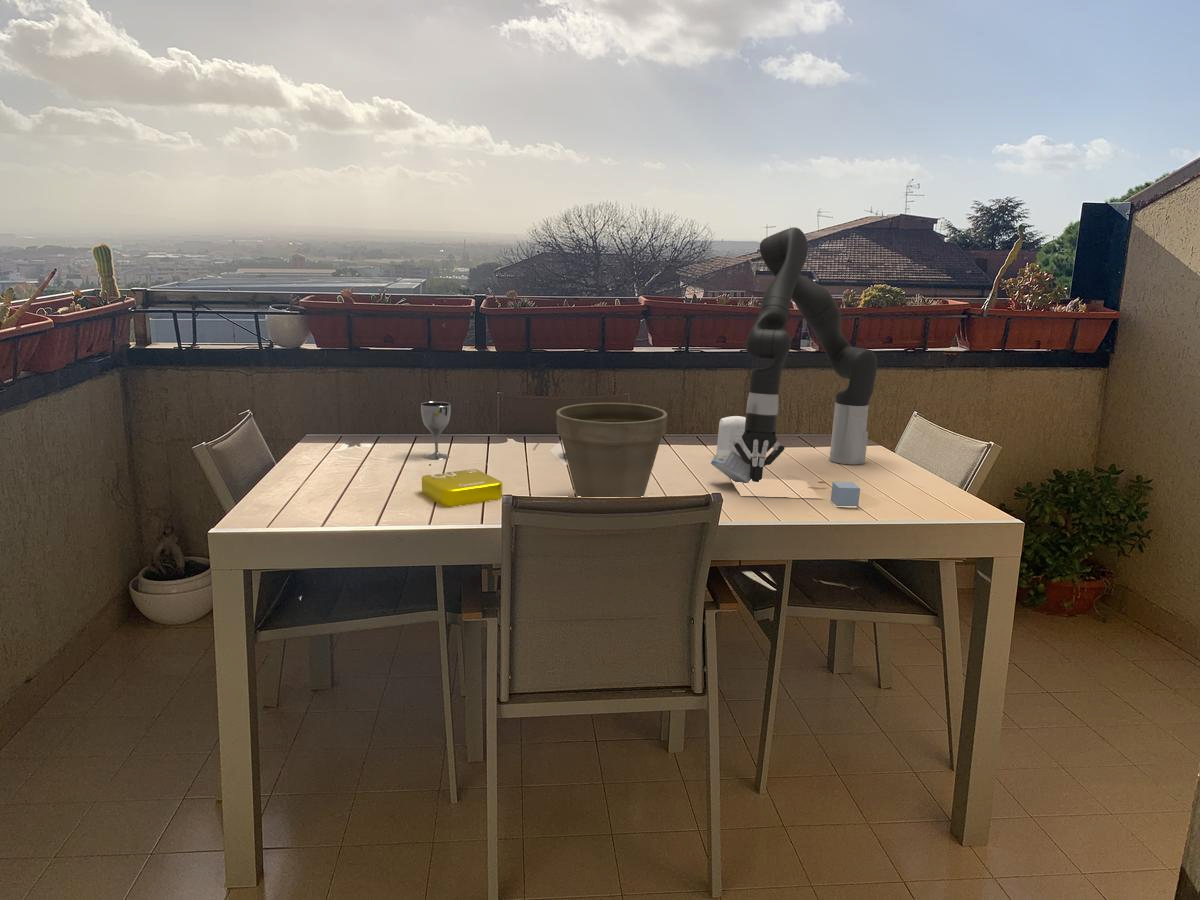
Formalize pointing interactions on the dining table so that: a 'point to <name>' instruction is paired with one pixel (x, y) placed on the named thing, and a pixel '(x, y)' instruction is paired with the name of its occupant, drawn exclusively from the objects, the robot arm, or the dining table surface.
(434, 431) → the wine glass
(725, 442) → the photo printer
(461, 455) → the dining table surface
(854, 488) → the slate-blue cube
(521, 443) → the dining table surface
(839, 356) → the robot arm
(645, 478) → the plant pot
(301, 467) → the dining table surface
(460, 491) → the element tile
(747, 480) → the medicine box
